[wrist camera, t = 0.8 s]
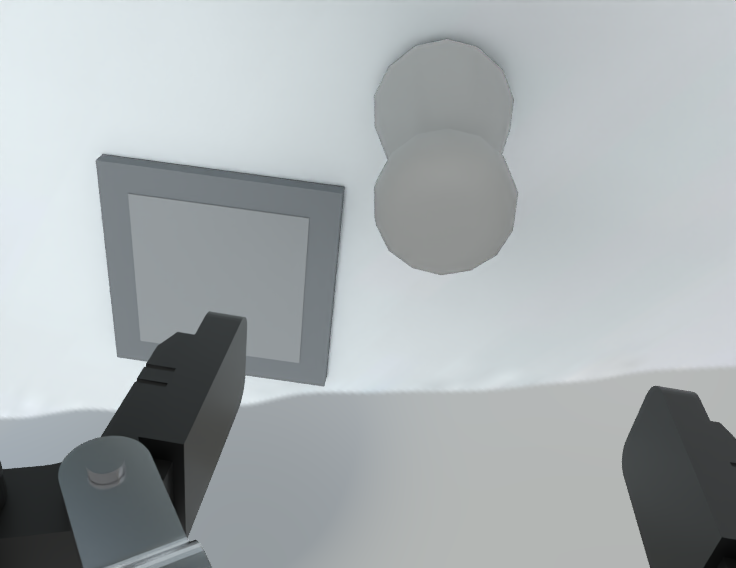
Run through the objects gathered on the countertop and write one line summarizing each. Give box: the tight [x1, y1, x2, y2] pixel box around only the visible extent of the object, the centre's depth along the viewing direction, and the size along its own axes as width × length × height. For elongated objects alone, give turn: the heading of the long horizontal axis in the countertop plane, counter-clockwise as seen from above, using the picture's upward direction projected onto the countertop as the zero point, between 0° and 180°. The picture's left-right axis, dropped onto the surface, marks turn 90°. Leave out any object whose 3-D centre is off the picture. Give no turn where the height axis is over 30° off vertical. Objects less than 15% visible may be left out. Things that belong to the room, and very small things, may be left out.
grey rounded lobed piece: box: [374, 39, 518, 275], centre depth 25 cm, size 6×6×13 cm
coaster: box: [96, 154, 344, 386], centre depth 36 cm, size 12×12×1 cm
